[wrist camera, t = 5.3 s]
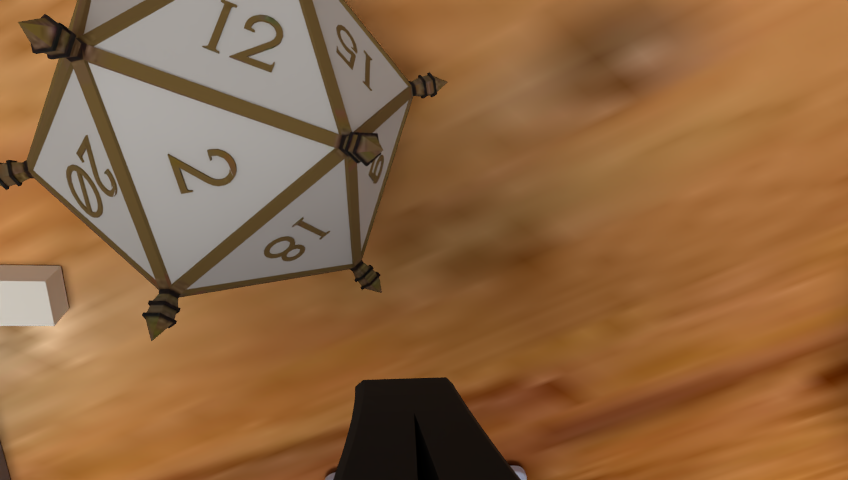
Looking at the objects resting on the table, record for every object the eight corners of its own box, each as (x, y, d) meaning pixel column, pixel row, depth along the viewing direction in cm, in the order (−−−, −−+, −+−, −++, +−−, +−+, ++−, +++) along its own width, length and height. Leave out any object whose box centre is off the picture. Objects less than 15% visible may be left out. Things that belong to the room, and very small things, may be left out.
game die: (281, 132, 20) (187, 417, 15) (45, -78, 14) (-239, 270, 9) (513, 41, 16) (491, 402, 11) (307, -320, 10) (35, 98, 5)
